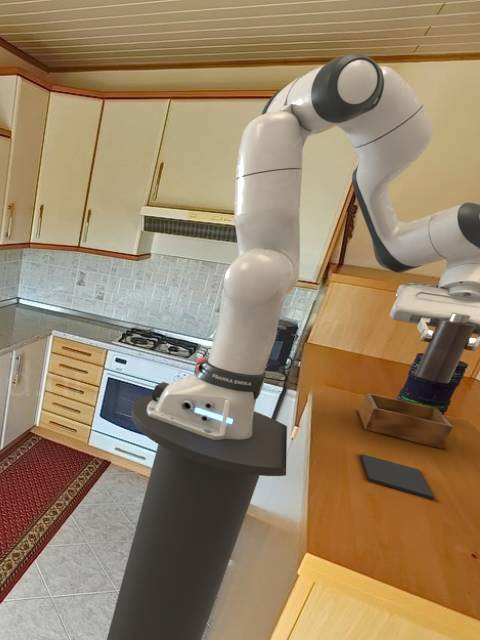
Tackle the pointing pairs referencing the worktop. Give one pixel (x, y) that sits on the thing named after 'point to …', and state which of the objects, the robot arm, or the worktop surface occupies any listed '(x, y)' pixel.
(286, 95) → the robot arm
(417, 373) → the pepper mill
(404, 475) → the counter mat
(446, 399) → the storage jar
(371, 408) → the brown wooden open box
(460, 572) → the worktop surface
